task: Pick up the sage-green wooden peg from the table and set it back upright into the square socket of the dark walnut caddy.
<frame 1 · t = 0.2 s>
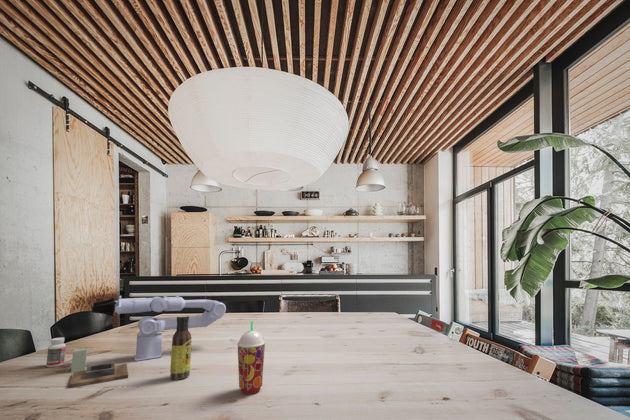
hand: (92, 307, 126), 21 cm above the table, tool horizontal, fingers open, 7 cm apart
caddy: (100, 376, 112), on the table
pill bottle: (55, 366, 124), on the table
peg: (78, 369, 119), on the table
sauce bottle: (180, 377, 110), on the table
smoothie: (250, 391, 98), on the table
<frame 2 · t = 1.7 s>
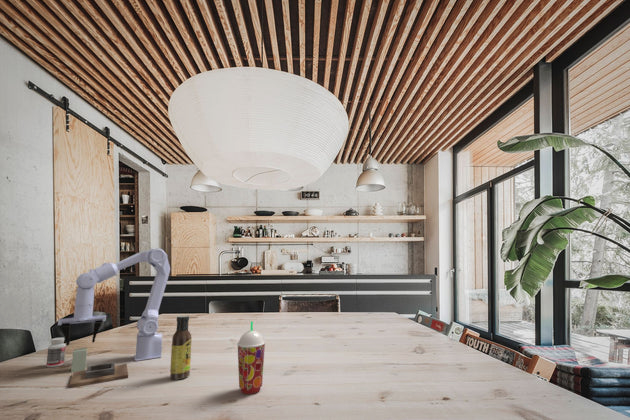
hand: (80, 343, 120), 9 cm above the table, tool pointing down, fingers open, 7 cm apart
nothing on the table moved.
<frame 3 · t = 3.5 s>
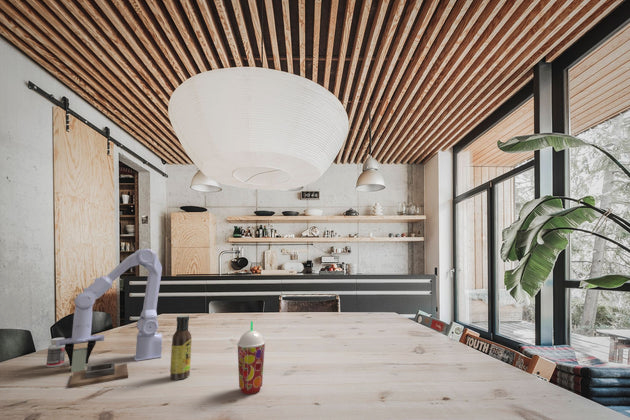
hand: (79, 364, 119), 2 cm above the table, tool pointing down, fingers closed on peg, 4 cm apart
peg: (78, 369, 119), on the table, touching gripper
everything else where it was.
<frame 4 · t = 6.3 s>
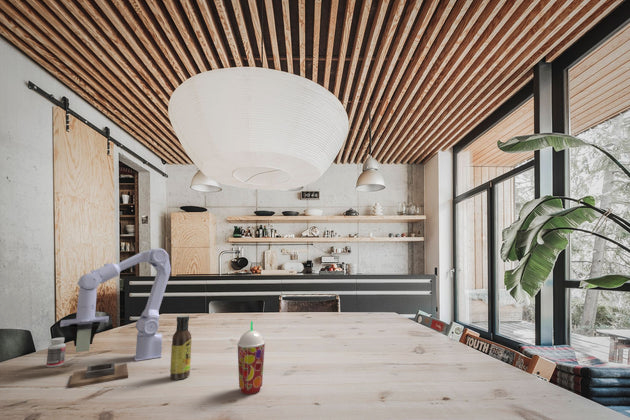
hand: (83, 344, 120), 9 cm above the table, tool pointing down, fingers closed on peg, 4 cm apart
peg: (82, 350, 119), point 7 cm above the table, touching gripper
everything else where it was.
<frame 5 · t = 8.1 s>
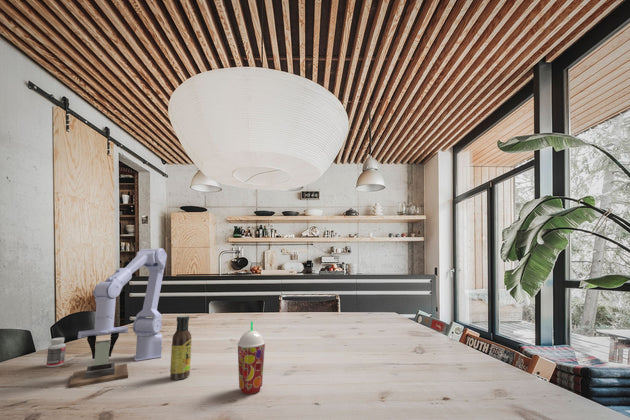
hand: (101, 357, 113), 6 cm above the table, tool pointing down, fingers closed on peg, 4 cm apart
peg: (101, 363, 112), point 4 cm above the table, touching gripper
everything else where it was.
when the fingers open (4 cm above the table, at t = 9.4 s): peg stays where it is, resting on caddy.
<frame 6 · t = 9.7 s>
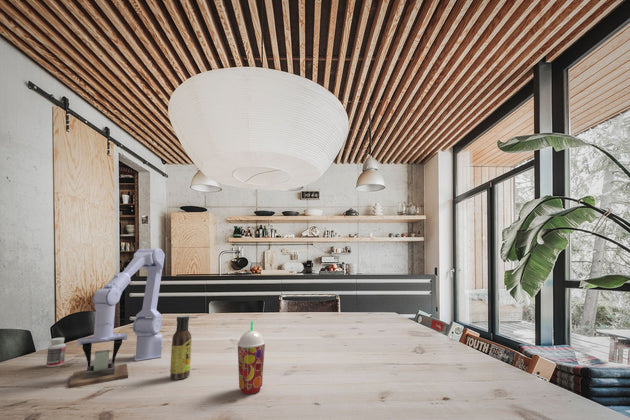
hand: (101, 364, 112), 4 cm above the table, tool pointing down, fingers open, 6 cm apart
peg: (100, 373, 112), point 1 cm above the table, touching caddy
everything else where it was.
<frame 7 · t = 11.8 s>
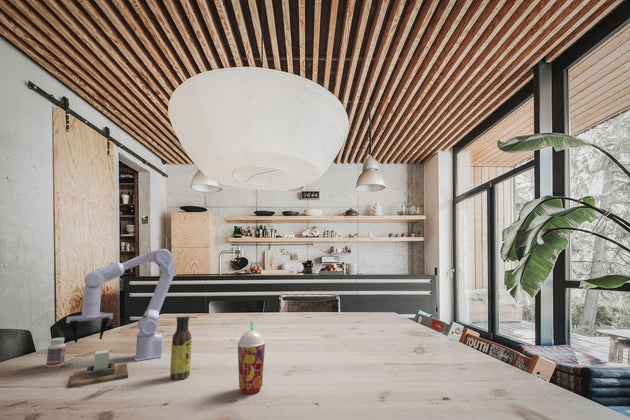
hand: (88, 340, 123), 9 cm above the table, tool pointing down, fingers open, 7 cm apart
nothing on the table moved.
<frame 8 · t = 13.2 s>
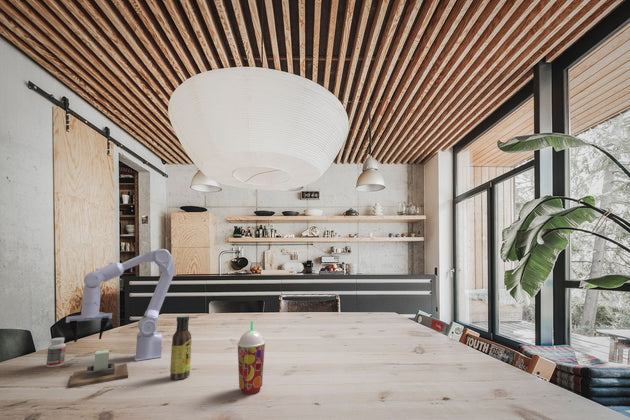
hand: (88, 340, 124), 9 cm above the table, tool pointing down, fingers open, 7 cm apart
nothing on the table moved.
at the end: peg 0.0 cm off-centre on the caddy, point 1.0 cm above the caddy's base; peg tilted 0°; the gripper is holding nothing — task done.
